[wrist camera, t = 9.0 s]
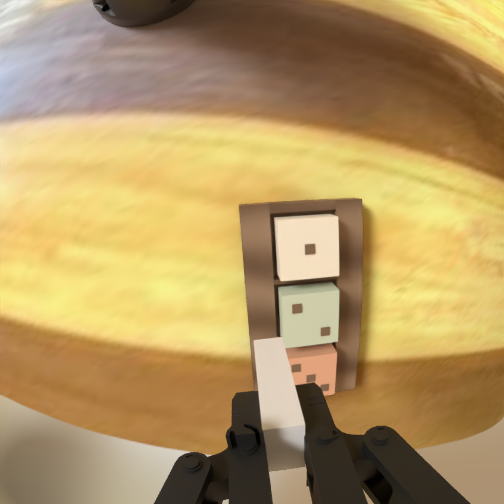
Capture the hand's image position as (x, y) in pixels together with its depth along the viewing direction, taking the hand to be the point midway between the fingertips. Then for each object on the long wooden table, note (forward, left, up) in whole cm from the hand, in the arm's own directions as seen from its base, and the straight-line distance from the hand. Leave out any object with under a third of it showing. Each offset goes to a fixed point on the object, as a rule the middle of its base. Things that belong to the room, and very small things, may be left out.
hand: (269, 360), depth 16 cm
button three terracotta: (+12, +5, -18) cm, 23 cm away
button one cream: (-3, +5, -18) cm, 19 cm away
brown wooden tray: (+5, +5, -19) cm, 21 cm away
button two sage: (+5, +5, -18) cm, 19 cm away
